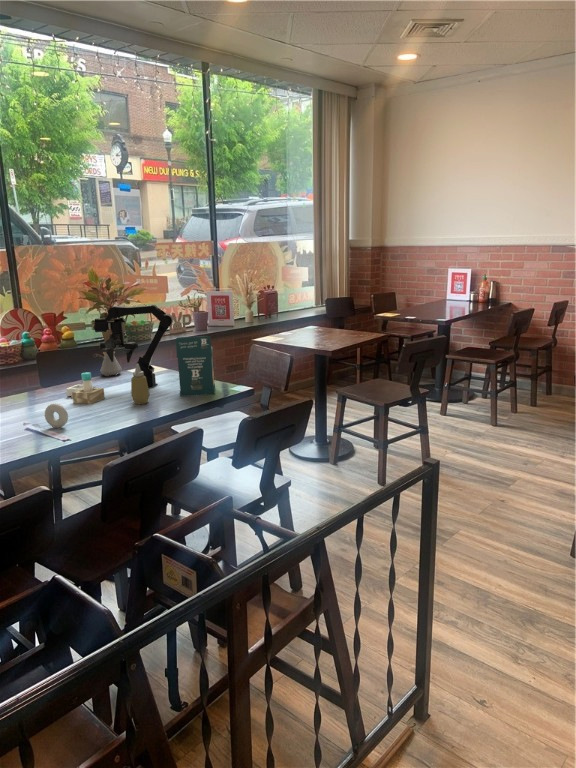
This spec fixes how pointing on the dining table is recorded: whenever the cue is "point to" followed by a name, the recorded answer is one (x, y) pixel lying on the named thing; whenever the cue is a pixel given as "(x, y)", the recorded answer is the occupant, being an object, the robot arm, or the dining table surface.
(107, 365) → the coffee pot
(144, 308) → the robot arm
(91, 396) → the socket block
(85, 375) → the plug
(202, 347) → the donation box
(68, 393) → the holster
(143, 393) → the squeeze bottle
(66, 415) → the donut
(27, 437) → the dining table surface
